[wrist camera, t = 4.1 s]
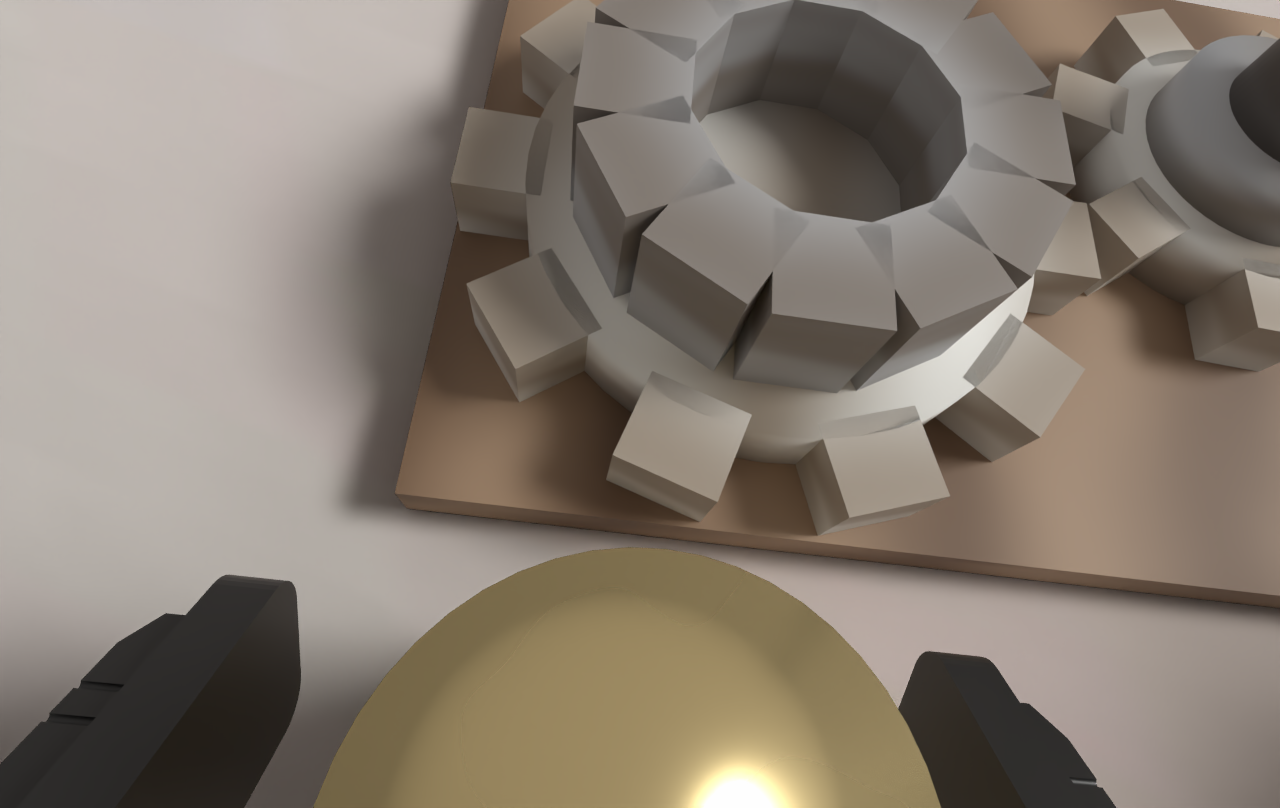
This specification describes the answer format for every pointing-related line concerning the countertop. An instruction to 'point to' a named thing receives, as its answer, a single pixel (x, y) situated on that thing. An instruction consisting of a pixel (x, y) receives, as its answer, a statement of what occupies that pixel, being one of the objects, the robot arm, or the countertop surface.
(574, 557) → the brass axle
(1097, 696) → the countertop surface
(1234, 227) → the gear board
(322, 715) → the countertop surface
